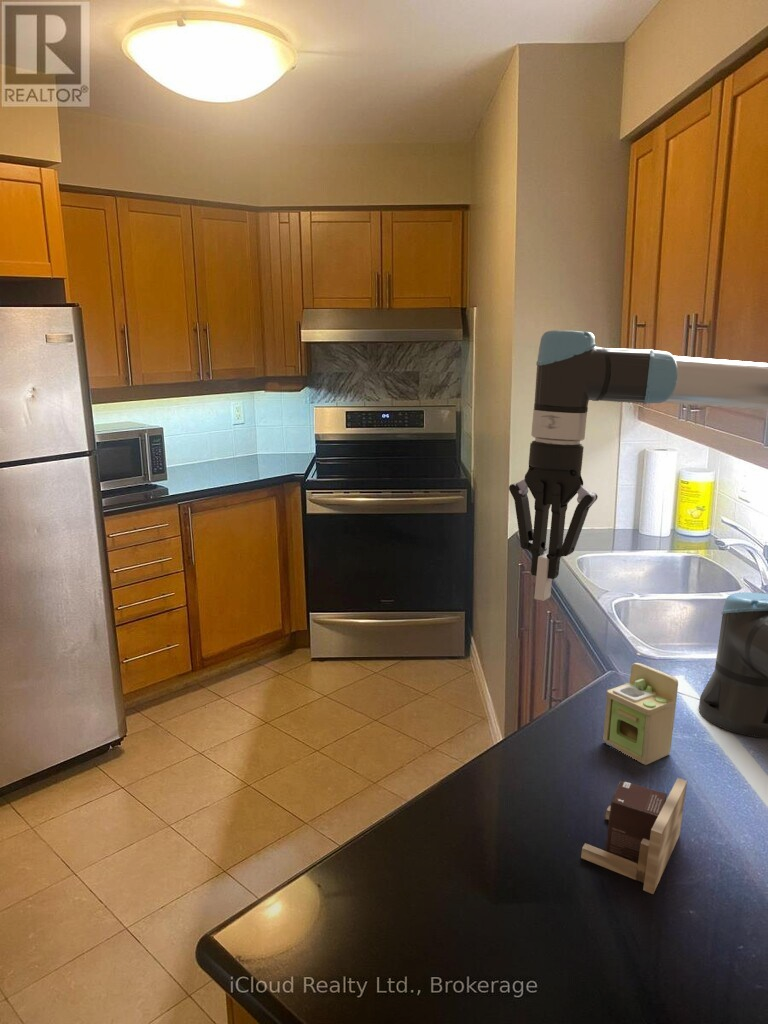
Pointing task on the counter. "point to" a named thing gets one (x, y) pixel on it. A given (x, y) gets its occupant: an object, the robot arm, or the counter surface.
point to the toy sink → (642, 714)
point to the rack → (648, 844)
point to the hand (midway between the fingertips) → (542, 597)
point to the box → (632, 818)
